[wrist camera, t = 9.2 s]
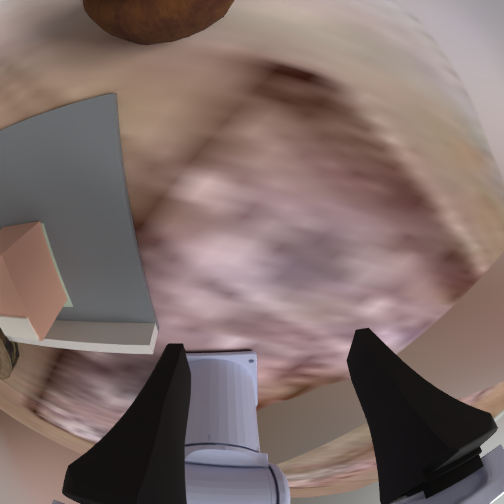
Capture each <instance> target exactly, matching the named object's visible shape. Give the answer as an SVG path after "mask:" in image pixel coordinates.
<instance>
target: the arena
mask: <svg viewBox="0 0 504 504" xmlns="http://www.w3.org/2000/svg"><path fill="white" fill-rule="evenodd" d="M37 221H40V222H41V226H42V229H43V233H44V236H45V239H46V242H47V245H48V248H49V251H50V254H51V257H52V260H53V263H54V266H55V268H56V271H57V274H58V276H59V279H60V282H61V284H62V287H63V289H64V292H65V294H66V296H67V301H66V303H65V304H64V306H63V307H62V309H61V311H60V312H59V314H58V316H57V317H56V319H55V321H54V322H53V324H52V326H51V328H50V329H49V331H48V333H47V335H46V336H45V338H44V340H43V341H39V340H30V339H23V338H16V337H10V336H7V338H8V339H9V341H14V342H20V343H26V344H33V345H40V346H47V347H55V348H64V349H73V350H84V351H96V352H110V353H130V354H153V352H154V347H155V343H156V339H157V334H158V330H159V325H158V322H157V319H156V315H155V312H154V308H153V305H152V301H151V298H150V294H149V290H148V286H147V282H146V278H145V274H144V270H143V266H142V262H141V258H140V253H139V249H138V244H137V240H136V235H135V230H134V225H133V220H132V215H131V209H130V204H129V198H128V192H127V186H126V179H125V173H124V165H123V158H122V150H121V141H120V132H119V121H118V109H117V94H116V93H111V94H107V95H103V96H99V97H95V98H91V99H87V100H83V101H80V102H76V103H73V104H70V105H66V106H63V107H60V108H57V109H54V110H51V111H48V112H45V113H42V114H40V115H37V116H34V117H31V118H29V119H26V120H24V121H21V122H19V123H16V124H14V125H12V126H9V127H7V128H5V129H3V130H0V230H1V229H2V228H3V227H7V226H13V225H18V224H24V223H30V222H37Z"/></svg>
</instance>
